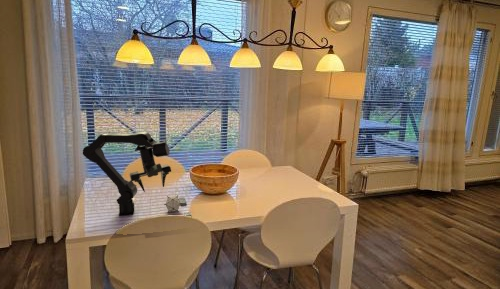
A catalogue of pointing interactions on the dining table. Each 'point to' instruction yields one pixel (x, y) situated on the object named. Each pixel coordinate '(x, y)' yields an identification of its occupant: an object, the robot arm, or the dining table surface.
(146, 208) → the dining table surface
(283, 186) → the dining table surface
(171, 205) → the grey spiked polyhedron
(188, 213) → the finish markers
